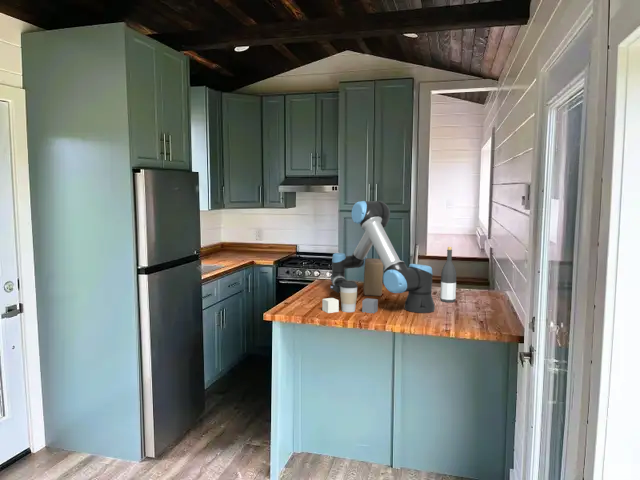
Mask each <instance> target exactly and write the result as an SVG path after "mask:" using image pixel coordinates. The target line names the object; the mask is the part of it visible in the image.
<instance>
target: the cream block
mask: <svg viewBox="0 0 640 480" xmlns="http://www.w3.org/2000/svg"><path fill="white" fill-rule="evenodd" d="M321 300H322V301H321V302H322V309H321V310H322V311H323V312H325V313H327V314H332V313H339V310H340V307H339V306H340V304H339V299H336V298H334V297H328V298H327V297H326V298H322V299H321Z"/></svg>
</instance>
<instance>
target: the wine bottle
mask: <svg viewBox="0 0 640 480" xmlns="http://www.w3.org/2000/svg"><path fill="white" fill-rule="evenodd" d="M446 252H447V253H446V262H445V264H444V265H443V267H442V270H441V274H440V295H439V296H440V301H441V303H442V302H443V303H447V304H448V303H455V302H456V292H457V291H456V290H457V271H456V267H455V265H454V263H453V262H452V261H453V257H452V256H453V247H452V246H447V250H446Z"/></svg>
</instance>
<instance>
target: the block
mask: <svg viewBox="0 0 640 480" xmlns="http://www.w3.org/2000/svg"><path fill="white" fill-rule="evenodd" d="M363 275H364V276H363V287H362V288H363V293H364V296H370V297H371V296H374V297H375V296H376V297H381V296H382V295H383V284H384V283H383V280H384V279H383V275H384V265H383V263H382V261H381V259H380V258H372V257H371V258H366V259H365V266H364V273H363Z"/></svg>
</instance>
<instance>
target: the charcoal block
mask: <svg viewBox="0 0 640 480" xmlns="http://www.w3.org/2000/svg"><path fill="white" fill-rule="evenodd" d="M361 302H362V303H361V306H362V308H361V312H362V313H365V312H366V313H365V314H372V313H373V314H375V313H377V312H378V310H379V309H378V308H379V307H378V305H379V299H377V298H368V297H366V298H364V299H363V300H362V301H361Z"/></svg>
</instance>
